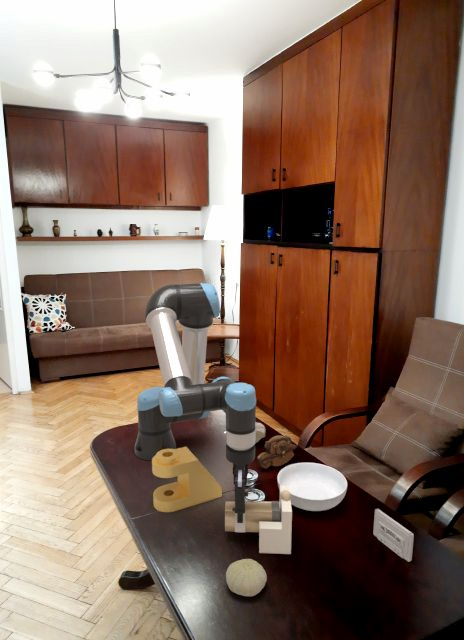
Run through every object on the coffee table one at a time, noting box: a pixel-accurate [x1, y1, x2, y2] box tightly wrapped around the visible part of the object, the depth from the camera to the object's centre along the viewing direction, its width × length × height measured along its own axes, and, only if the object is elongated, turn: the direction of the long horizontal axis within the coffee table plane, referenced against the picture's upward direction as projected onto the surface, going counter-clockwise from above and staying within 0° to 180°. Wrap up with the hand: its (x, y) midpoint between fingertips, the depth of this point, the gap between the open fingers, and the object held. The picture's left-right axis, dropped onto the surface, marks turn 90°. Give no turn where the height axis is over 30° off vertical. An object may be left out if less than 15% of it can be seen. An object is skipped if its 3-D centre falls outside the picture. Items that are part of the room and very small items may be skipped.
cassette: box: [373, 508, 415, 563], centre depth 115 cm, size 12×2×8 cm, turn 29°
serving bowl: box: [276, 462, 348, 512], centre depth 136 cm, size 21×21×7 cm
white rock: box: [255, 421, 267, 444], centre depth 169 cm, size 12×8×10 cm
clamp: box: [151, 446, 223, 513], centre depth 135 cm, size 20×9×16 cm, turn 118°
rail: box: [224, 500, 280, 533], centre depth 118 cm, size 4×14×6 cm, turn 87°
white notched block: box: [258, 486, 293, 555], centre depth 118 cm, size 11×8×14 cm
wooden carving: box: [256, 435, 298, 469], centre depth 155 cm, size 16×5×10 cm, turn 128°
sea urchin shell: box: [225, 558, 268, 597], centre depth 103 cm, size 9×8×8 cm
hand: (240, 525), depth 119 cm, fingers closed on rail, 4 cm apart
